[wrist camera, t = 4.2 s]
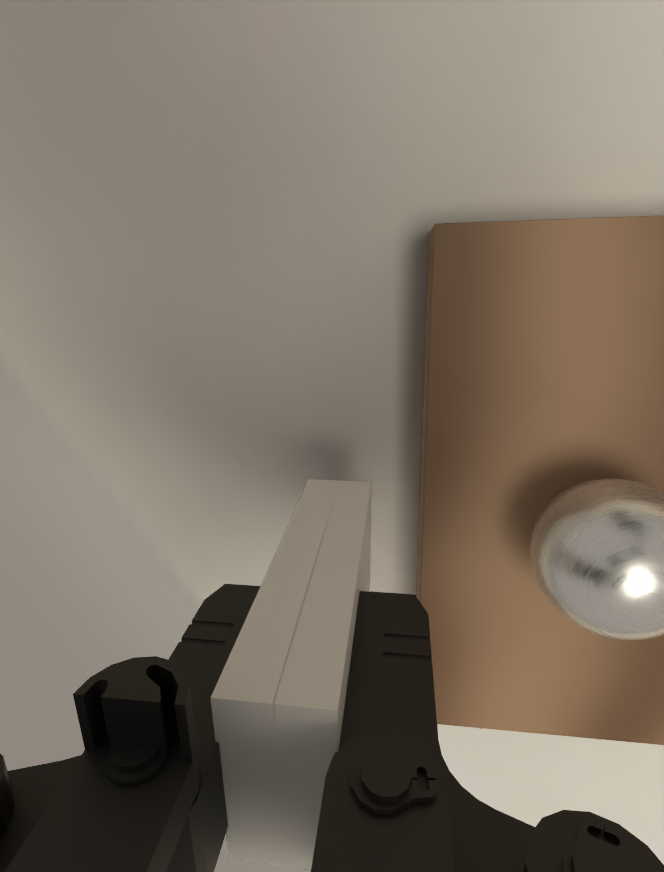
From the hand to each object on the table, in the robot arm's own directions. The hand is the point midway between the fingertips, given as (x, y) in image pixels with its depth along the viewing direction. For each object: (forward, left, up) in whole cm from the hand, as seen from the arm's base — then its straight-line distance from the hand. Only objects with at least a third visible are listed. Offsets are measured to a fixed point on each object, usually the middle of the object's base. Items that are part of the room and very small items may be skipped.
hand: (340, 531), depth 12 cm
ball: (0, +6, 0) cm, 6 cm away
